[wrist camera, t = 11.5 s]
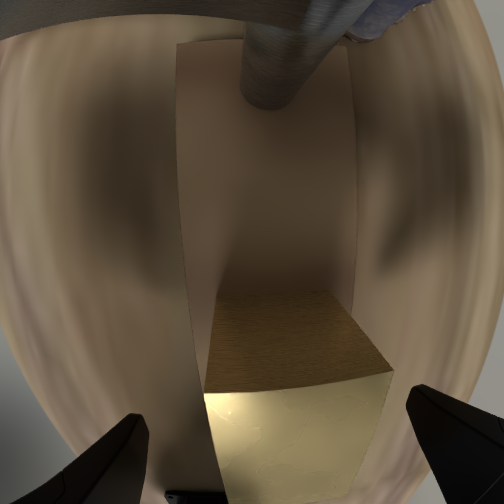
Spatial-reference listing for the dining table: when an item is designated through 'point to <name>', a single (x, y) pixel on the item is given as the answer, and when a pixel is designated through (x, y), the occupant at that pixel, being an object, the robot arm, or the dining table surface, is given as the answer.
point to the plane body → (263, 185)
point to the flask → (381, 18)
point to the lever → (231, 7)
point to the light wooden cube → (291, 396)
